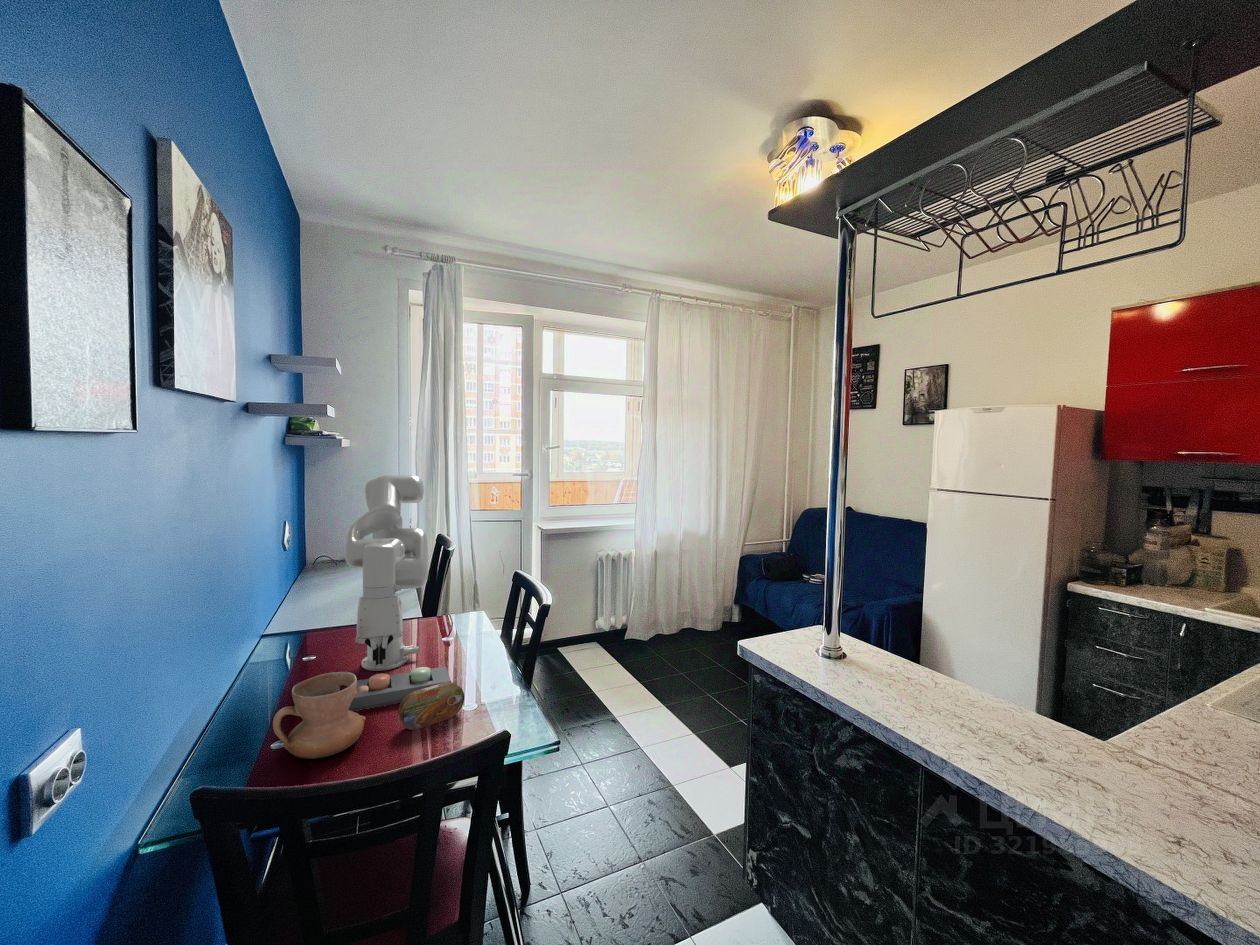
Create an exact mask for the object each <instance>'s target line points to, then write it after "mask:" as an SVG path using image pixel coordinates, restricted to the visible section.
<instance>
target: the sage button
mask: <svg viewBox="0 0 1260 945" xmlns="http://www.w3.org/2000/svg"><path fill="white" fill-rule="evenodd" d="M430 669H431V668H430V667H428V666H421V667H415V668H414V669H412V670H411V671H410V672H411V684H416V683H422V682H427V681H430Z"/></svg>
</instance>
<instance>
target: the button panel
mask: <svg viewBox="0 0 1260 945" xmlns="http://www.w3.org/2000/svg"><path fill="white" fill-rule="evenodd" d="M389 676H390V688H387V689H381V690H376V691H370V692H369V689H368V692H367V693H366V692H362V693H360V694H358V695H357V696H355V697H354V698H353V700H352V702H351V705H350V707H349V709H348V710H350V711H357V710H360V709H361V710H362V709H366V708H372V707H378V706H384V705H389V706H391V705H390V704H394V705H396V704H395V703H399V702H400V704H401V702H402V700H403V699H404V698H405V697H406V696H407V695H408V694H410V693H411V692H414V691H417V690H420V689H424V688H427V687H431V686H434V685H437V684H441V683H444V682H452V680H451V678H450V675H449V672H448V669H447V666H446V665H445V666H438V667H433V668H430V681H427V682H422V683H416V684H411V671H409V672H403V673H402V672H401V673H396V674H389ZM360 686H368V687H369V678H366V679H359V680H357V685H356V688H358V687H360ZM384 707H385V706H384ZM378 708H379V707H378ZM362 711H363V710H362ZM357 712H358V711H357Z"/></svg>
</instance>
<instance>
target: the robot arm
mask: <svg viewBox="0 0 1260 945" xmlns="http://www.w3.org/2000/svg"><path fill="white" fill-rule="evenodd" d="M424 489H425V488H424V482H423V480H422V479H421V477H420V476H418V475H404V474H403V475H401V474H400V475H399V474H398V475H397V474H395V475H392V474H390V475H380V476H378V477H376V478H372V479H370V480H369V481H368V482H367V483H366V484H365V488H364V490H365V491H364V496H365V502H366V505H367V509H368V511H367V512H366V513H364V514H363V515H361V516H360V517H359V518H358V519H357V520H356V521H355V522H353V523H352V525H351V526H350V527H349V530H348V533H347V537H346V543H345V550H344V559H345V562H346V564H347V565H348V566H349V567H351V568H355V569H357V568H358V569H361V568H362V596H361V597H359V599H358V604H357V612H356V637H355V644H356V643H357V644H365V645H366V646H367V647H366V648H367V650H366V652H367V656H365V657H364V658H363V659H362V660H361V668H363V669H364V670H367V671H373V672H375V671H376V672H379V671H380V672H381V671H382V672H383V671H388V670H392V669H396V668H399V667H401V666H402V665H405V664H406V663H407V662H408V660H409V655H411V654H412V655H413V654H419V651H420V649H419V646H415V645H414V644H412V645H407V646H406V645H404V641H403V602H402V600H401V598H400V597H399V594H398V593H397V592H400V591H402V590H411V589H419V588H422V587H424V586H425V585H426V584H427V581H428V577H429V562H428V560H429V558H428V556H429V553H428V551H429V549H428V547H429V546H428V537H427V534H426V532H425V531H424V530H423V529H422V528H415V527H411V528H410V527H407V528H406V527H405V528H404V527H403V518H402V516H401V510H402V508H401V505H402V504H418V503H421V502H422V500H423V498H424V495H425V494H424V493H425V490H424ZM371 534H372V536H371V538H365V537H367V536H369V535H371Z"/></svg>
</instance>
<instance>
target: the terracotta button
mask: <svg viewBox="0 0 1260 945" xmlns="http://www.w3.org/2000/svg"><path fill="white" fill-rule="evenodd" d="M389 675H390V674H389V673H385V672H384V673H376V674H374V675H372V676H370V677H369V678H368V679H369V692H370V691H376V690H381V689H387V688H390V676H389Z"/></svg>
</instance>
